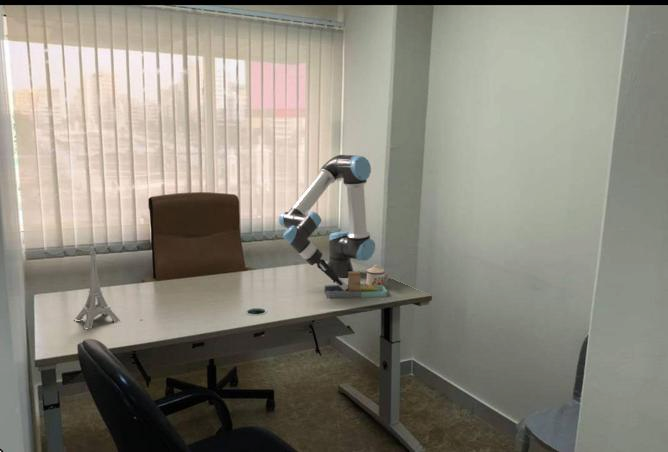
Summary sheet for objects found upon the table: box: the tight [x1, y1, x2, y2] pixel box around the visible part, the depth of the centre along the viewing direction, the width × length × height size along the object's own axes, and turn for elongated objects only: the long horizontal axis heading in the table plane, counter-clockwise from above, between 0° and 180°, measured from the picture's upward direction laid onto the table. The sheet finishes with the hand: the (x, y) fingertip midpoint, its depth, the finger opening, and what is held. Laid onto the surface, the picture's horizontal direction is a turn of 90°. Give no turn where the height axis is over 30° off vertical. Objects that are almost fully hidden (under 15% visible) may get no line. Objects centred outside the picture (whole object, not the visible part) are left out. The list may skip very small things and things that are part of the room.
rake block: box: [347, 270, 362, 291], centre depth 233 cm, size 5×5×10 cm
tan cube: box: [360, 283, 369, 292], centre depth 234 cm, size 4×4×4 cm
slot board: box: [324, 284, 363, 299], centre depth 233 cm, size 12×16×4 cm
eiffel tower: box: [74, 246, 121, 328], centre depth 194 cm, size 13×13×30 cm
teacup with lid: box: [366, 264, 389, 287], centre depth 246 cm, size 12×9×12 cm
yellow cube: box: [368, 285, 378, 292], centre depth 234 cm, size 4×4×4 cm
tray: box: [361, 285, 389, 298], centre depth 234 cm, size 10×12×3 cm
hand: (346, 288), depth 232 cm, fingers closed
